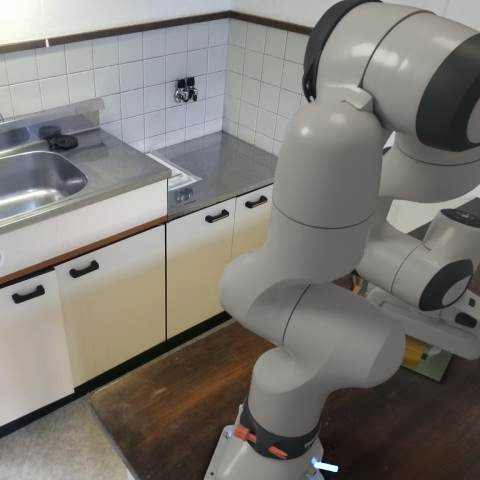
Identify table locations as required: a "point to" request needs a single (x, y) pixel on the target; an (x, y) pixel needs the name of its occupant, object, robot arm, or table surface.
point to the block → (413, 352)
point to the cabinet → (434, 364)
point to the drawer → (357, 291)
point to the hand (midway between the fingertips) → (408, 351)
